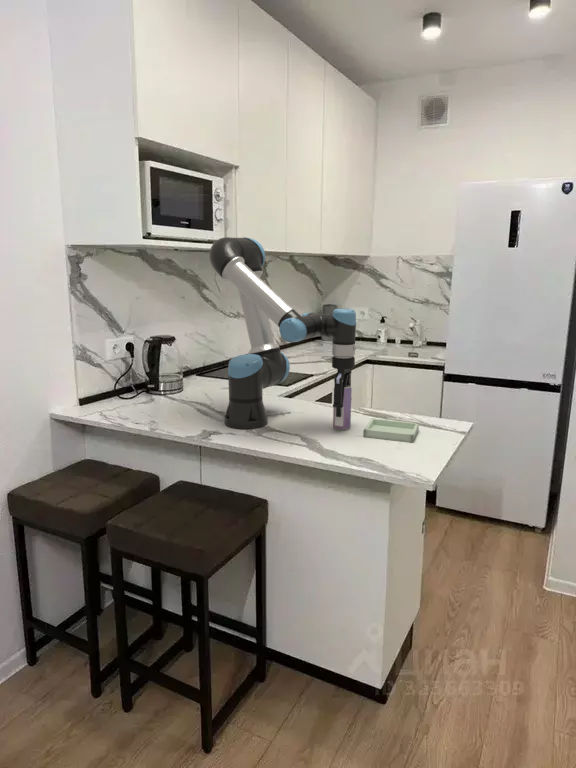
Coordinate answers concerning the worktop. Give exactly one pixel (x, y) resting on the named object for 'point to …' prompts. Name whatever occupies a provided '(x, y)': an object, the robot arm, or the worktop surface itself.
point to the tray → (391, 430)
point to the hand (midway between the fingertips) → (341, 422)
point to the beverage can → (345, 410)
